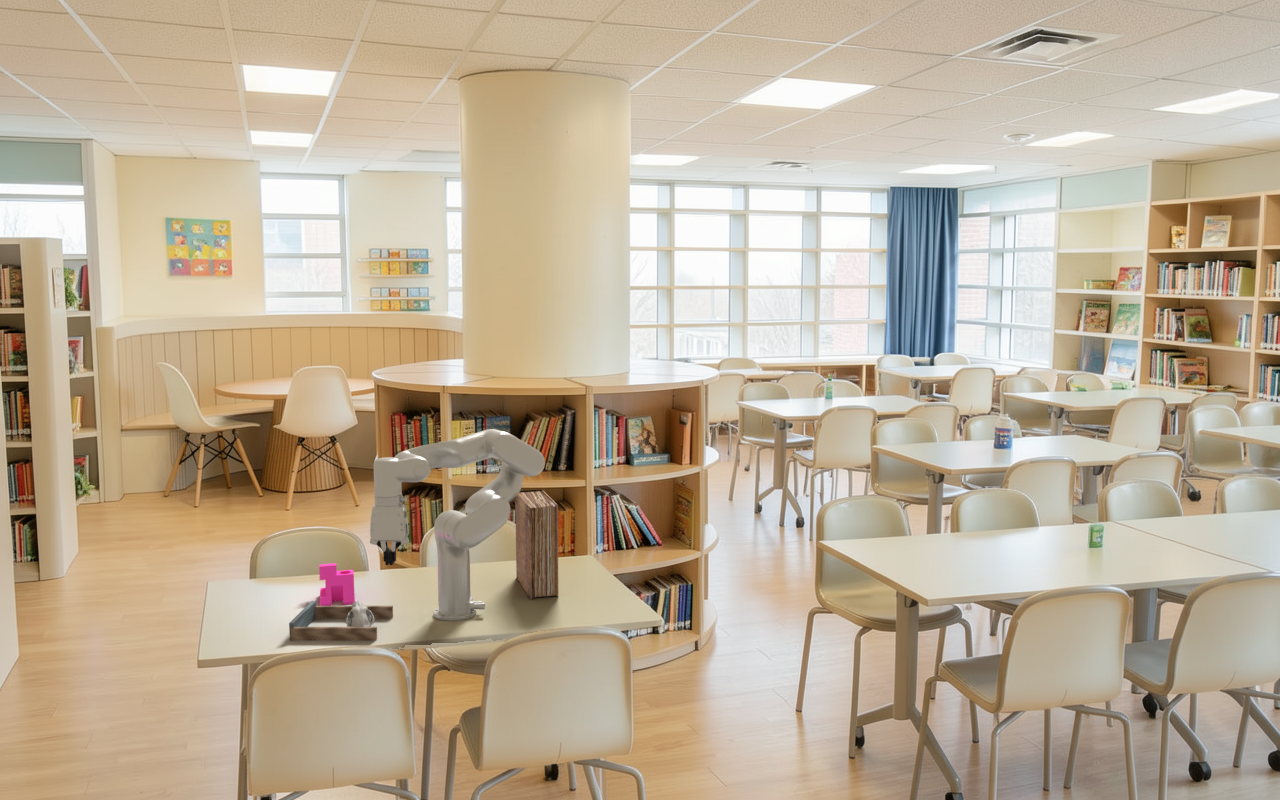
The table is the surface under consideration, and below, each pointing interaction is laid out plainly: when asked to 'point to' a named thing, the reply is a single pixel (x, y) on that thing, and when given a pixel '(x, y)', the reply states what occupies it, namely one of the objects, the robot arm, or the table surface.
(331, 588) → the bracket
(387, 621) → the table surface
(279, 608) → the table surface
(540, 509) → the book
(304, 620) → the bay
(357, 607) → the skull
